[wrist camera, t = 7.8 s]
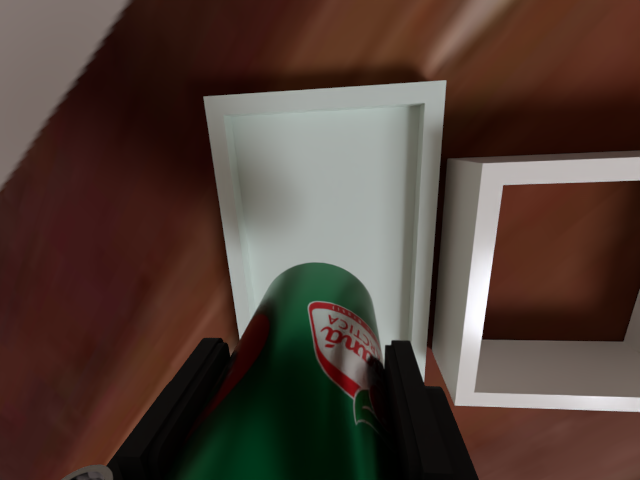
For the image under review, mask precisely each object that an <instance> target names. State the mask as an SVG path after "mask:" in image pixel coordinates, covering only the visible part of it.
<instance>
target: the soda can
mask: <svg viewBox="0 0 640 480" xmlns="http://www.w3.org/2000/svg"><path fill="white" fill-rule="evenodd" d="M163 480H404V479H403V474H402V468H401V462H400V456H399V450H398V445H397V439H396V433H395V427H394V421H393V416H392V410H391V404H390V398H389V393H388V387H387V381H386V375H385V369H384V362H383V356H382V351H381V345H380V339H379V334H378V328H377V322H376V316H375V311H374V306H373V302H372V298H371V296H370V294H369V292H368V290H367V289H366V287H365V286H364V285H363V283H362V282H361V281H360V280H359V279H358V278H357V277H355V276H354V275H353V274H352V273H350V272H348V271H347V270H345V269H343V268H341V267H338V266H335V265H332V264H327V263H319V262H311V263H304V264H299V265H296V266H294V267H291V268H289V269H287V270H285V271H284V272H282V273H281V274H280V275H279V276H277V277H276V278H275V279H274V280H273V282H272V283H271V284H270V286H269V287H268V289H267V291H266V293H265V295H264V297H263V298H262V300H261V302H260V304H259V306H258V307H257V309H256V311H255V313H254V315H253V317H252V318H251V320H250V322H249V324H248V326H247V328H246V329H245V331H244V333H243V335H242V337H241V339H240V340H239V342H238V344H237V346H236V348H235V349H234V351H233V353H232V355H231V357H230V359H229V360H228V362H227V364H226V366H225V368H224V370H223V371H222V373H221V375H220V377H219V379H218V381H217V382H216V384H215V386H214V388H213V390H212V391H211V393H210V395H209V397H208V399H207V401H206V402H205V404H204V406H203V408H202V410H201V412H200V413H199V415H198V417H197V419H196V421H195V423H194V424H193V426H192V428H191V430H190V432H189V433H188V435H187V437H186V439H185V441H184V443H183V444H182V446H181V448H180V450H179V452H178V454H177V455H176V457H175V459H174V461H173V463H172V465H171V466H170V468H169V470H168V472H167V474H166V475H165V477H164V479H163Z"/></svg>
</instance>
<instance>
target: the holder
mask: <svg viewBox="0 0 640 480" xmlns="http://www.w3.org/2000/svg"><path fill="white" fill-rule="evenodd" d="M634 180H640V150H639V151H615V152H591V153H568V154H544V155H520V156H497V157H473V158H450V159H447V170H446V182H445V195H444V207H443V220H442V232H441V244H440V257H439V269H438V281H437V294H436V306H435V318H434V331H433V343H432V352H433V354H434V356H435V359H436V361H437V364H438V366H439V369H440V371H441V373H442V376H443V378H444V381H445V383H446V385H447V388H448V390H449V393H450V395H451V398H452V400H453V402H454V405H459V406H487V407H516V408H545V409H574V410H603V411H632V412H640V290H639V293H638V296H637V299H636V302H635V306H634V309H633V312H632V315H631V319H630V322H629V325H628V328H627V332H626V335H625V338H624V341H623V342H611V341H540V340H481V339H482V332H483V325H484V318H485V311H486V304H487V296H488V289H489V282H490V275H491V268H492V260H493V253H494V246H495V239H496V232H497V224H498V217H499V210H500V203H501V196H502V189H503V185H515V184H545V183H575V182H604V181H634Z"/></svg>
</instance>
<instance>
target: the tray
mask: <svg viewBox="0 0 640 480" xmlns="http://www.w3.org/2000/svg"><path fill="white" fill-rule="evenodd" d="M445 91H446V80H444V81H429V82H414V83H399V84H384V85H369V86H354V87H339V88H324V89H309V90H294V91H279V92H264V93H249V94H234V95H219V96H204V97H203V98H204V104H205V111H206V118H207V124H208V131H209V138H210V144H211V151H212V158H213V164H214V171H215V178H216V184H217V191H218V198H219V205H220V211H221V218H222V225H223V231H224V238H225V245H226V251H227V258H228V265H229V271H230V278H231V285H232V291H233V298H234V305H235V311H236V318H237V325H238V331H239V338H240V339H241V337H242V335H243V333H244V331H245V329H246V328H247V326H248V324H249V322H250V320H251V318H252V317H253V315H254V313H255V311H256V309H257V307H258V306H259V304H260V302H261V300H262V298H263V297H264V295H265V293H266V291H267V289H268V287H269V286H270V284H271V283H272V282H273V280H274V279H275V278H276V277H277V276H279V275H280V274H281V273H282V272H284V271H285V270H287V269H289V268H291V267H294V266H296V265H299V264H304V263H311V262H319V263H327V264H332V265H335V266H338V267H341V268H343V269H345V270H347V271H348V272H350V273H352V274H353V275H354V276H355V277H357V278H358V279H359V280H360V281H361V282H362V283H363V285H364V286H365V287H366V289H367V290H368V292H369V294H370V296H371V298H372V302H373V306H374V311H375V316H376V322H377V328H378V334H379V339H380V345H381V351H382V356H383V362H384V363H385V345H391V341H392V340H409V341H410V342H411V345H412V348H413V351H414V354H415V357H416V360H417V363H418V366H419V370H420V373H421V376H422V379H423V382H424V374H425V361H426V347H427V334H428V320H429V307H430V293H431V280H432V266H433V253H434V239H435V226H436V213H437V199H438V186H439V172H440V159H441V145H442V132H443V118H444V105H445Z"/></svg>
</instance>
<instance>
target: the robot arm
mask: <svg viewBox="0 0 640 480" xmlns="http://www.w3.org/2000/svg"><path fill="white" fill-rule="evenodd" d="M229 359H230V353H229V347H228V344H227V343H224V342H223V340H222V339H221V338H203V339H202V340H201V342H200V343H199V344H198V346H197V347H196V348H195V350H194V351H193V352H192V354H191V355H190V356H189V358H188V359H187V360H186V362H185V363H184V364H183V366H182V367H181V368H180V370H179V371H178V372H177V374H176V375H175V377H174V378H173V379H172V381H170V382H169V383H168V384H167V385H166V387H165V388H164V389H163V391H162V392H161V393H160V395H159V396H158V397H157V399H156V400H155V401H154V403H153V404H152V405H151V407H150V408H149V410H148V411H147V412H146V414H145V415H144V416H143V418H142V419H141V420H140V422H139V423H138V424H137V426H136V427H135V428H134V430H133V431H132V432H131V434H130V435H129V436H128V438H127V439H126V440H125V442H124V443H123V444H122V446H121V447H120V448H119V450H118V451H117V452H116V454H115V455H114V456H113V458H112V459H111V460H110V462H109V463H108V464H107V466H103V465H90V466H87V467H84V468H81V469H79V470H77V471H75V472H73V473H71V474H69V475H67V476H66V477H65V478H63V479H62V480H163V479H164V477H165V475H166V474H167V472H168V470H169V468H170V466H171V465H172V463H173V461H174V459H175V457H176V455H177V454H178V452H179V450H180V448H181V446H182V444H183V443H184V441H185V439H186V437H187V435H188V433H189V432H190V430H191V428H192V426H193V424H194V423H195V421H196V419H197V417H198V415H199V413H200V412H201V410H202V408H203V406H204V404H205V402H206V401H207V399H208V397H209V395H210V393H211V391H212V390H213V388H214V386H215V384H216V382H217V381H218V379H219V377H220V375H221V373H222V371H223V370H224V368H225V366H226V364H227V362H228V360H229ZM384 369H385V375H386V381H387V387H388V393H389V398H390V404H391V410H392V416H393V421H394V427H395V433H396V439H397V445H398V450H399V456H400V462H401V468H402V474H403V479H404V480H479V479H478V476H477V474H476V471H475V469H474V466H473V464H472V461H471V459H470V456H469V454H468V451H467V449H466V446H465V443H464V441H463V438H462V436H461V433H460V431H459V428H458V426H457V423H456V421H455V418H454V416H453V413H452V411H451V408H450V406H449V403H448V401H447V398H446V396H445V393H444V391H443V389H442V388H441V387H434V386H425V385H424V382H423V379H422V376H421V373H420V370H419V366H418V363H417V360H416V357H415V354H414V351H413V348H412V345H411V342H410V341H409V340H392V341H391V345H385V363H384Z"/></svg>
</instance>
